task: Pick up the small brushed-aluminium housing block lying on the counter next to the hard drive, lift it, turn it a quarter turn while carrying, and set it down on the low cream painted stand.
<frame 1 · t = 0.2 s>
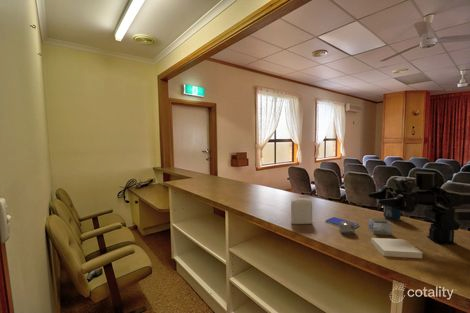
hand: (373, 198, 90), 17 cm above the worktop, tool horizontal, fingers open, 9 cm apart
tin: (346, 232, 97), on the worktop
housing: (379, 232, 97), on the worktop
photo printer: (301, 223, 108), on the worktop
soda can: (391, 219, 112), on the worktop
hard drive: (341, 225, 107), on the worktop
stand: (394, 249, 81), on the worktop
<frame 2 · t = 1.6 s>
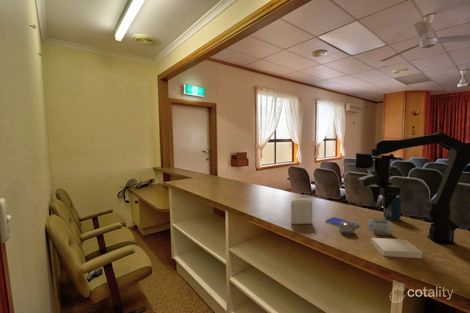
hand: (380, 205, 96), 12 cm above the worktop, tool pointing down, fingers open, 9 cm apart
nothing on the worktop moved.
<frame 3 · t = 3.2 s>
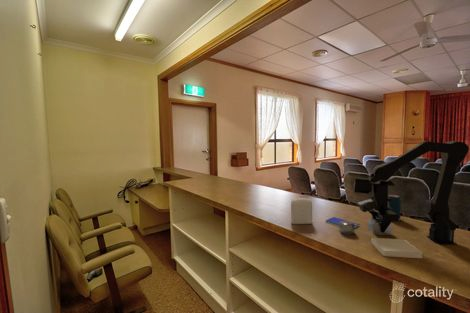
hand: (379, 229, 96), 1 cm above the worktop, tool pointing down, fingers closed on housing, 5 cm apart
housing: (379, 232, 97), on the worktop, touching gripper
everything else where it was.
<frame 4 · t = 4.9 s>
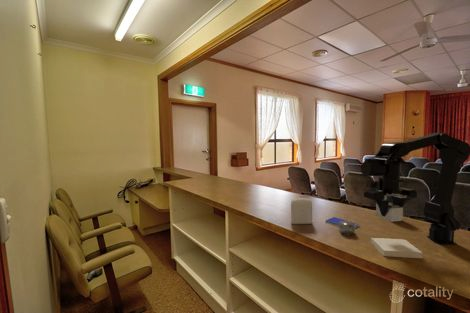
hand: (389, 215, 86), 11 cm above the worktop, tool pointing down, fingers closed on housing, 5 cm apart
housing: (388, 217, 86), point 10 cm above the worktop, touching gripper
everything else where it was.
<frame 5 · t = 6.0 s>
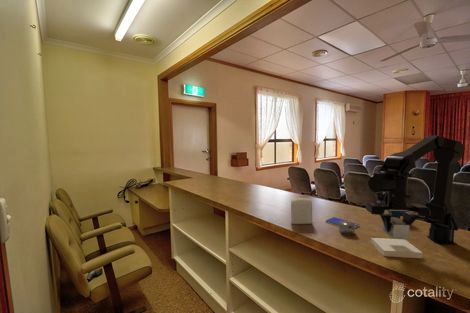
hand: (395, 231, 81), 7 cm above the worktop, tool pointing down, fingers closed on housing, 5 cm apart
housing: (395, 234, 81), point 6 cm above the worktop, touching gripper
everything else where it was.
when the fingers open (4 cm above the worktop, at t = 6.9 s): housing drops 1 cm, resting on stand.
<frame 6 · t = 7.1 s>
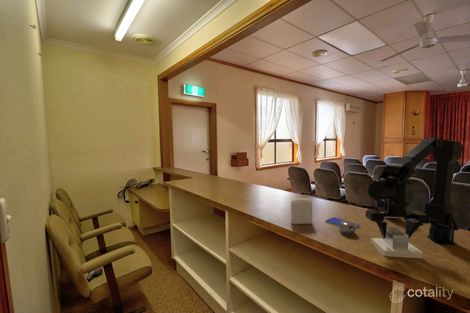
hand: (395, 238, 81), 4 cm above the worktop, tool pointing down, fingers open, 7 cm apart
housing: (394, 244, 81), point 2 cm above the worktop, touching stand
everything else where it was.
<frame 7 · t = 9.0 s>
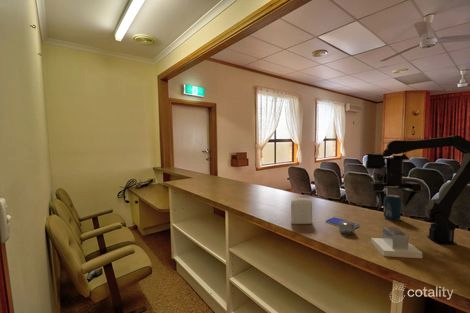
hand: (393, 206, 95), 12 cm above the worktop, tool pointing down, fingers open, 9 cm apart
nothing on the worktop moved.
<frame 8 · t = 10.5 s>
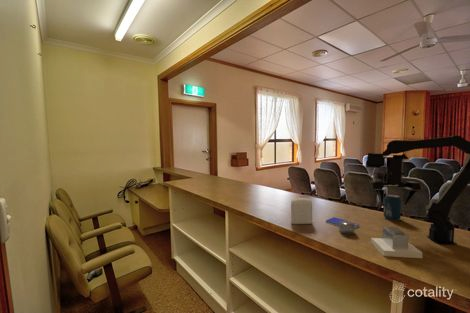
hand: (392, 204, 97), 12 cm above the worktop, tool pointing down, fingers open, 9 cm apart
nothing on the worktop moved.
at the end: housing inside the target area on the stand (0.1 cm from its centre), point 2.0 cm above the stand's base; housing tilted 0°; the gripper is holding nothing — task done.
